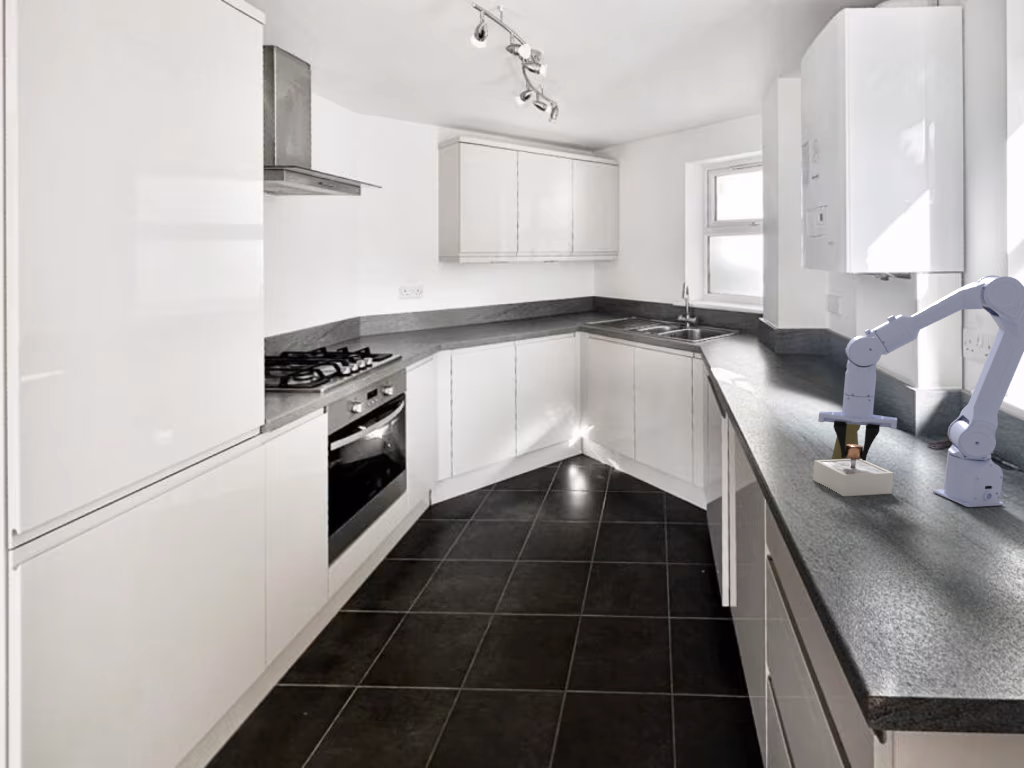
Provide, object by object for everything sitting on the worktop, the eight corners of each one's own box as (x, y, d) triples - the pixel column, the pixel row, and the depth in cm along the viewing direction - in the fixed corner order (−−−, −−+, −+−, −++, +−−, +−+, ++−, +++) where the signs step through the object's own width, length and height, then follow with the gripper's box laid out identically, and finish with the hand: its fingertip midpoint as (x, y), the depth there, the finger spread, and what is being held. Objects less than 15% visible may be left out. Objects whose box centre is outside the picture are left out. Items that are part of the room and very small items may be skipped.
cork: (835, 456, 170) (838, 412, 168) (862, 461, 167) (866, 416, 165) (828, 462, 166) (831, 417, 164) (855, 467, 162) (859, 420, 160)
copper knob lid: (887, 474, 144) (889, 451, 143) (845, 477, 142) (847, 453, 141) (858, 462, 153) (860, 439, 152) (819, 464, 151) (821, 441, 150)
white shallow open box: (891, 493, 144) (893, 472, 143) (843, 496, 142) (844, 475, 141) (852, 474, 156) (854, 455, 155) (807, 477, 155) (809, 457, 154)
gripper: (819, 394, 144) (814, 458, 147) (899, 401, 138) (893, 467, 140) (821, 389, 151) (816, 450, 153) (898, 394, 144) (892, 458, 147)
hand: (853, 458), depth 147 cm, fingers open, 3 cm apart
